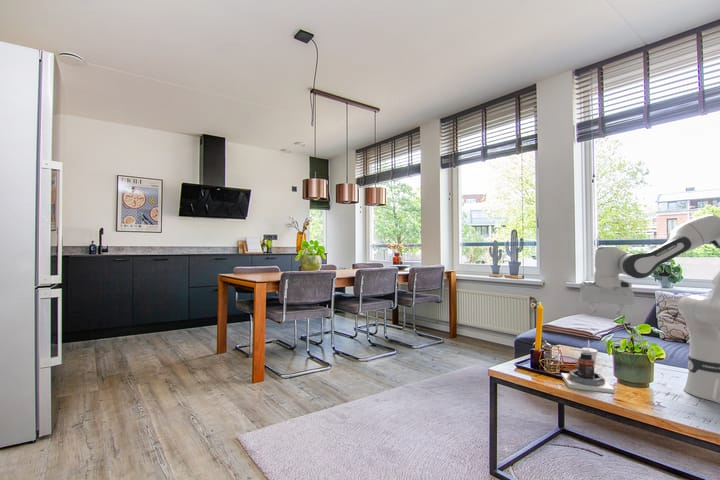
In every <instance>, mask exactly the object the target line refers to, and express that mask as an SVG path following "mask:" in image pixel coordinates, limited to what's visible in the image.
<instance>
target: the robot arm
mask: <svg viewBox="0 0 720 480" xmlns="http://www.w3.org/2000/svg"><path fill="white" fill-rule="evenodd" d="M708 243H712V244H713V246H715V247H716V248H717V249H719V250H720V217H719V216H718V215H715V214H712V213H711V214H708V213H707V214H704V215H701V216H697V217H695V218H692V219H690V220H687V221H686V222H683V223H681V224H679V225H677V226H676V227H674V228H672V229H671V230H670V231H668V232H667V235H666V242H664V243H663V244H662V245H661V244H660V245H659V246H658V247H655V248H653V249H651V250H650V251H648V252H644V253H631V252H629V251H626V250H623V249H622V248H620V247H618V246H617V245H613V244H612V245H604V246H600V247H598V248H597V249H596V251H595V255H594V267H595V272H594V281H583V282H581V283H580V284H579V290H580V293H579V301H580V302H581V303H586V304H587V303H588V306H589V307H590V309H591V314H597V309H596V308H595V307H594V306H595V305H594V304H608V305H609V304H610V305H618V307H619V308H618V309H616V310H615V315H618V316H619V315H621V316H622V310H624V309H625V305H627V306H628V305H629V306H633V305H634V303H635V294H634V291H633V289H632V287H633V286H632V283H631V282H628V281H627V280H623V279H619V275H620V274H621V275H624V276H629V277H632V278H634V279H645V278H648V277H649V276H651V275H652V274H653V273H654V272H655V271H656V269H658V267H660V266H661V265H663V264H665V263H667V262H668V261H670V260H672V259H674V258H676V257H678V256H680V255H681V254H684V253H687V252H690V251H692V250H695V249H697V248H700V247H701V246H704V245H706V244H708ZM712 285H713V290H712V293H710V295H709V296H706V295H700V294H699V295H698V294H690V295H684V296H682V297H681V298H680V299H679V300H678V302H677V306H676V307H677V310H678V312H679V314H680V315H681V316H682V317H683V319H684V322H685V325H686V328H687V332H688V337H689V355H688V356H687V357H688V358H687V359H688V360H687V369H688V372H687V373H688V375H687V378H686V382H685V385H684V388H683V391H684V392H686V393H688V394H689V395H691V396H695V397H697V398H700V399H704V400H706V401H707V400H708V401H711V402H715V403H717V404H720V270H718V273H717V274H716V275H715V276H714V277H713V278H712Z"/></svg>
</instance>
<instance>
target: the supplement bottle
mask: <svg viewBox="0 0 720 480" xmlns="http://www.w3.org/2000/svg"><path fill="white" fill-rule="evenodd" d="M577 370H578V376H580V377H583V378H590V379H594V373H595V368H594V360H593V359H592V354H590V353H586V352H583V351H581V352H580V357H578V358H577Z"/></svg>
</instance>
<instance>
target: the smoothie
mask: <svg viewBox="0 0 720 480" xmlns="http://www.w3.org/2000/svg"><path fill="white" fill-rule="evenodd" d="M581 352H586V353H590V354H592V359H593V360H594V369H595V368H596V367H595V366H596V361H597V356H598V353H599V352H598V350H597V349H595V348H591V347H590V340H589V339H588V340H587V347H581Z"/></svg>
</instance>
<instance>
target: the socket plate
mask: <svg viewBox="0 0 720 480" xmlns="http://www.w3.org/2000/svg"><path fill="white" fill-rule="evenodd" d="M568 374H569V373H567V372H566V373H565V372H560V376H561V375H562V377H563V378H562V377H561V378H562V380H563V381H564V383H565V384H566V385H567V387H568V388H569V389H577V390H584V391H595V392H602V393H609V394H610V393H611V394H614V393H615V389H614V388H613V386H611V385H610V383H609V382H607V381H606V380H605V383H604V385H600V386H590V385H583V384H580V383H577V382H574V381H572V380H570V379H568Z"/></svg>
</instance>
